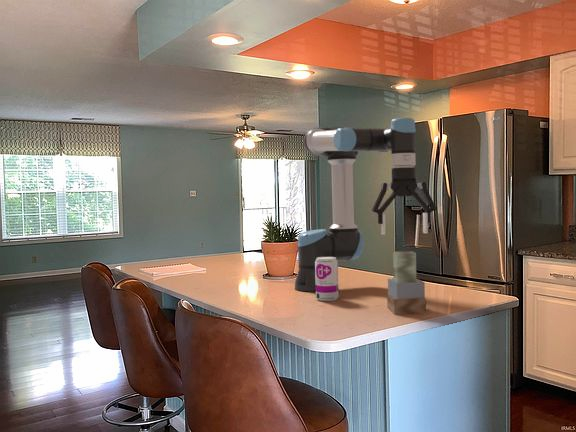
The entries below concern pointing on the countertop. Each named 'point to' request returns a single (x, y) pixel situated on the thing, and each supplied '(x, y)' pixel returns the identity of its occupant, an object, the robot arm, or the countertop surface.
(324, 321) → the countertop surface
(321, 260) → the supplement can
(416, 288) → the block
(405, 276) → the pillar block
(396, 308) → the tower base
